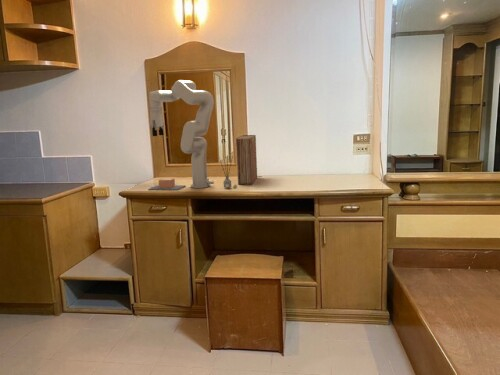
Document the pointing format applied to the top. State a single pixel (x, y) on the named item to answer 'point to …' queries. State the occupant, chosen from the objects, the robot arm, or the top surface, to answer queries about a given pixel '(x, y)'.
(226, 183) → the reed diffuser
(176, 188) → the mat
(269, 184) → the top surface
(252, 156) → the brown wooden block
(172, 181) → the card box
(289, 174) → the top surface
